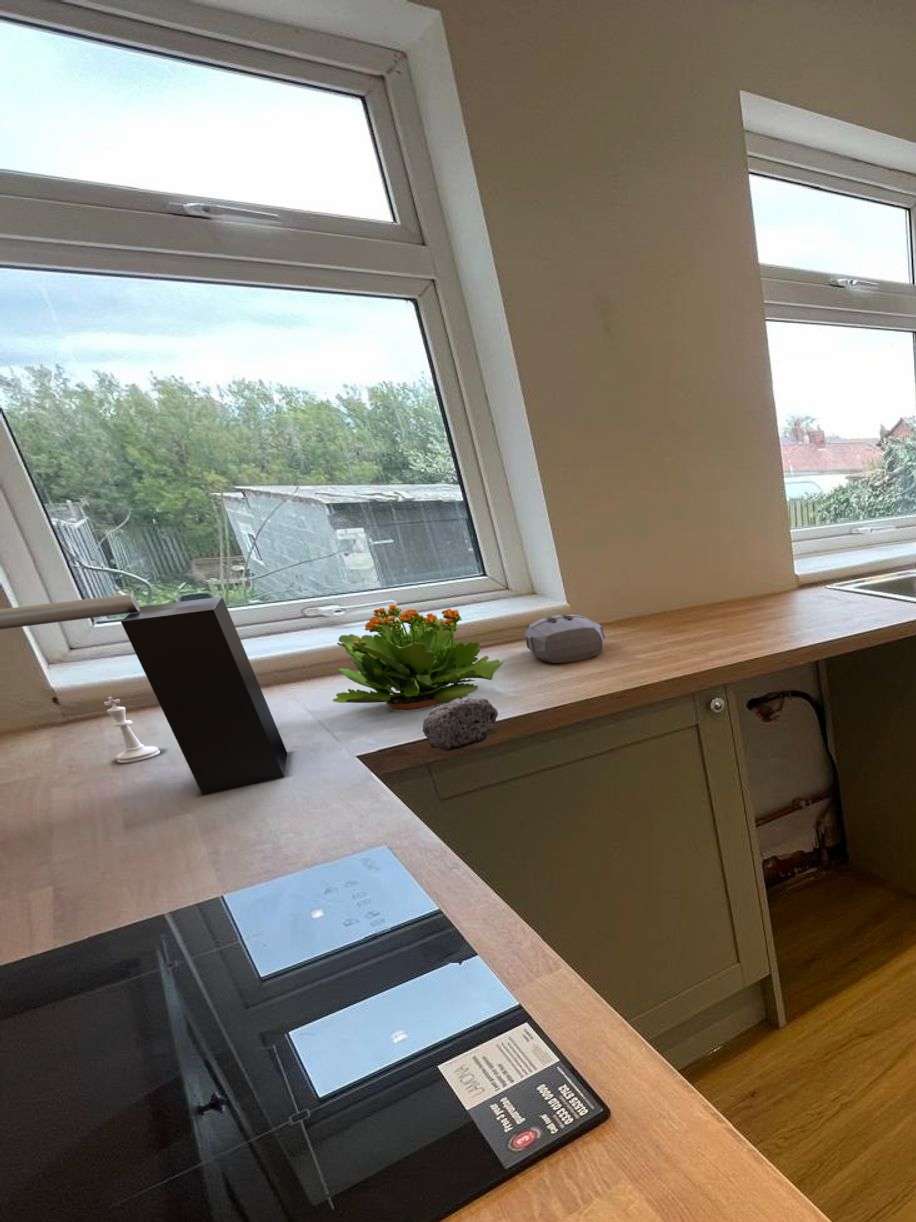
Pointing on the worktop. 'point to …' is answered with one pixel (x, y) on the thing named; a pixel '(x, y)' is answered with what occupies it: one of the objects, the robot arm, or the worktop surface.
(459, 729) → the pumice stone
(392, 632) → the potted flower
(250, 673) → the black box
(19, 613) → the matchstick with dark head
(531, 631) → the soft grey pack
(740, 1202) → the worktop surface
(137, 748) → the chess piece
